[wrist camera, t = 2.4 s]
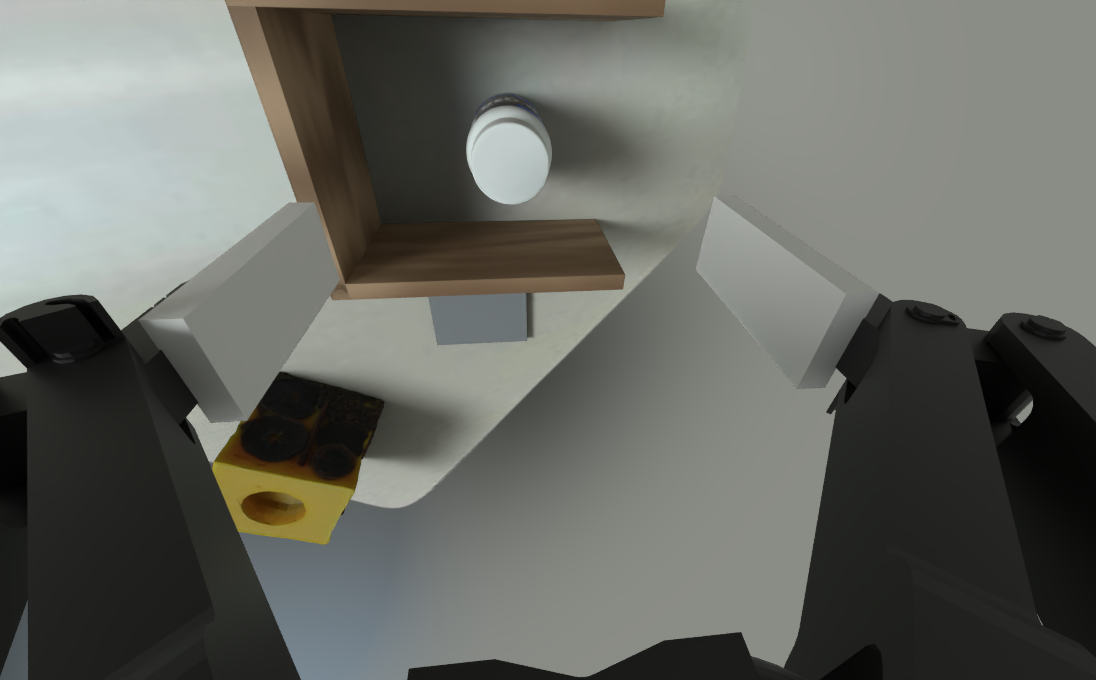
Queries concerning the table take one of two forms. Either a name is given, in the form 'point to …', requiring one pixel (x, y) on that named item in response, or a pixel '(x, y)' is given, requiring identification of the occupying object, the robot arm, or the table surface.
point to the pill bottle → (509, 149)
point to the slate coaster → (479, 318)
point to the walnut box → (343, 176)
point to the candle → (296, 459)
